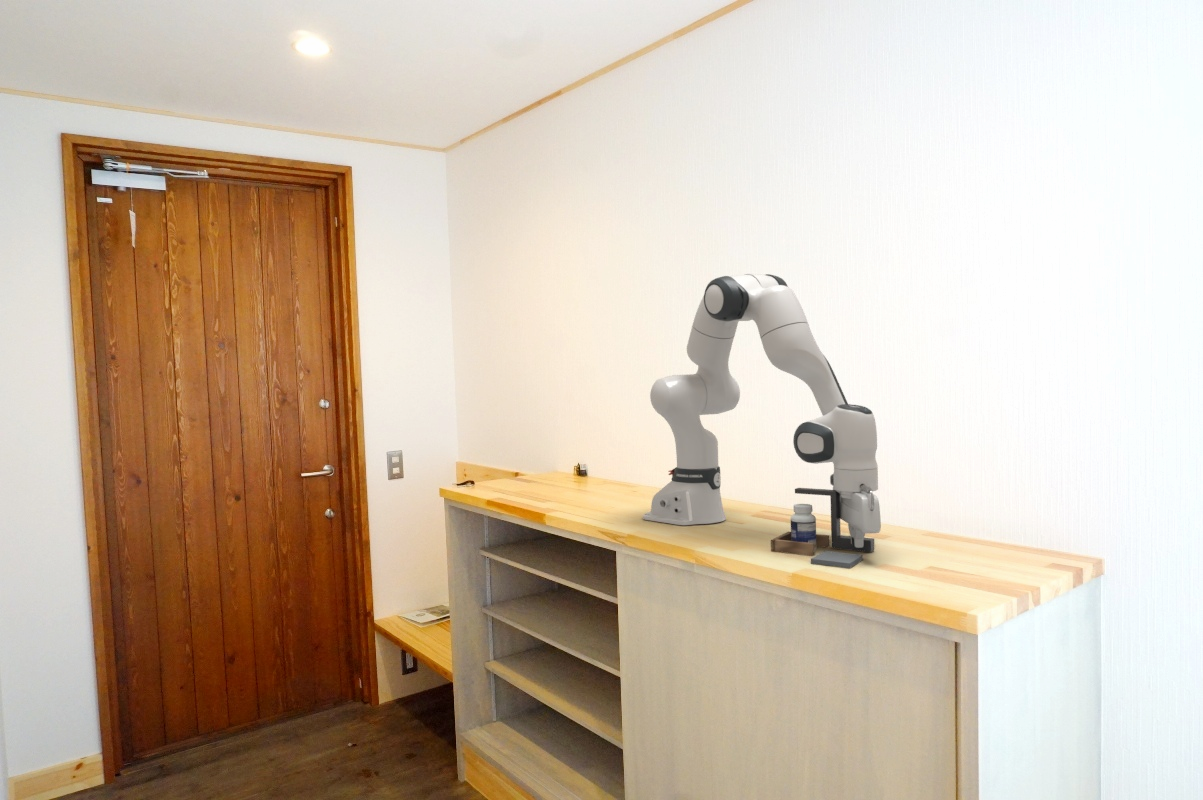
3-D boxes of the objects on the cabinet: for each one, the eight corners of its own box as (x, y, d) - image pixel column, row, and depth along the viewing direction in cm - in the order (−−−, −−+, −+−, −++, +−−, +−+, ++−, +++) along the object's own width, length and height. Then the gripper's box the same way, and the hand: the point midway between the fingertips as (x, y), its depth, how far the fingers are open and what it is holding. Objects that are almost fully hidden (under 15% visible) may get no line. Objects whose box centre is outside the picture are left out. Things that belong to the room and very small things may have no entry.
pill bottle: (790, 546, 175) (789, 503, 174) (815, 546, 174) (814, 503, 173) (792, 552, 169) (791, 507, 169) (817, 552, 168) (816, 507, 168)
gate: (795, 544, 176) (794, 489, 175) (799, 542, 177) (798, 487, 177) (871, 552, 166) (869, 493, 165) (874, 550, 168) (873, 492, 167)
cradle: (771, 551, 171) (770, 539, 171) (788, 542, 179) (788, 531, 179) (813, 556, 165) (812, 544, 165) (829, 546, 173) (829, 535, 173)
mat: (810, 563, 159) (810, 558, 159) (824, 555, 165) (824, 550, 165) (850, 568, 154) (850, 563, 154) (863, 559, 160) (862, 555, 160)
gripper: (888, 488, 155) (889, 557, 155) (855, 474, 175) (857, 535, 176) (856, 489, 155) (857, 558, 155) (827, 475, 175) (828, 536, 176)
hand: (857, 546), depth 166 cm, fingers closed
